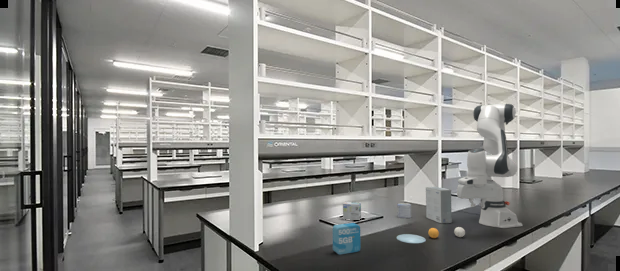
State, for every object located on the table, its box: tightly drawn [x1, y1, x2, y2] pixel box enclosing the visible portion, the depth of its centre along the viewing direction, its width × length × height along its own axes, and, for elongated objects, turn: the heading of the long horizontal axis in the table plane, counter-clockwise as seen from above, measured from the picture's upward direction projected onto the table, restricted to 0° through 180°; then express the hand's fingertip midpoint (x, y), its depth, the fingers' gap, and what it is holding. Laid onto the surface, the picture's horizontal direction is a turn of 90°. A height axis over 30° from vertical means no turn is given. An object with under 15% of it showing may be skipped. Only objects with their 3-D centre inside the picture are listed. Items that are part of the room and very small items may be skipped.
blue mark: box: [396, 233, 427, 244], centre depth 155 cm, size 14×14×1 cm
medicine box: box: [397, 202, 412, 219], centre depth 199 cm, size 8×4×9 cm, turn 84°
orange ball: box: [427, 227, 440, 239], centre depth 156 cm, size 5×5×5 cm
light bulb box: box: [342, 201, 362, 221], centre depth 194 cm, size 11×7×11 cm, turn 71°
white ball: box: [453, 226, 466, 238], centre depth 158 cm, size 5×5×5 cm
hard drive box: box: [425, 186, 453, 224], centre depth 191 cm, size 16×8×20 cm, turn 13°
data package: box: [332, 222, 361, 256], centre depth 138 cm, size 12×4×12 cm, turn 112°
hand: (477, 206), depth 159 cm, fingers open, 3 cm apart
